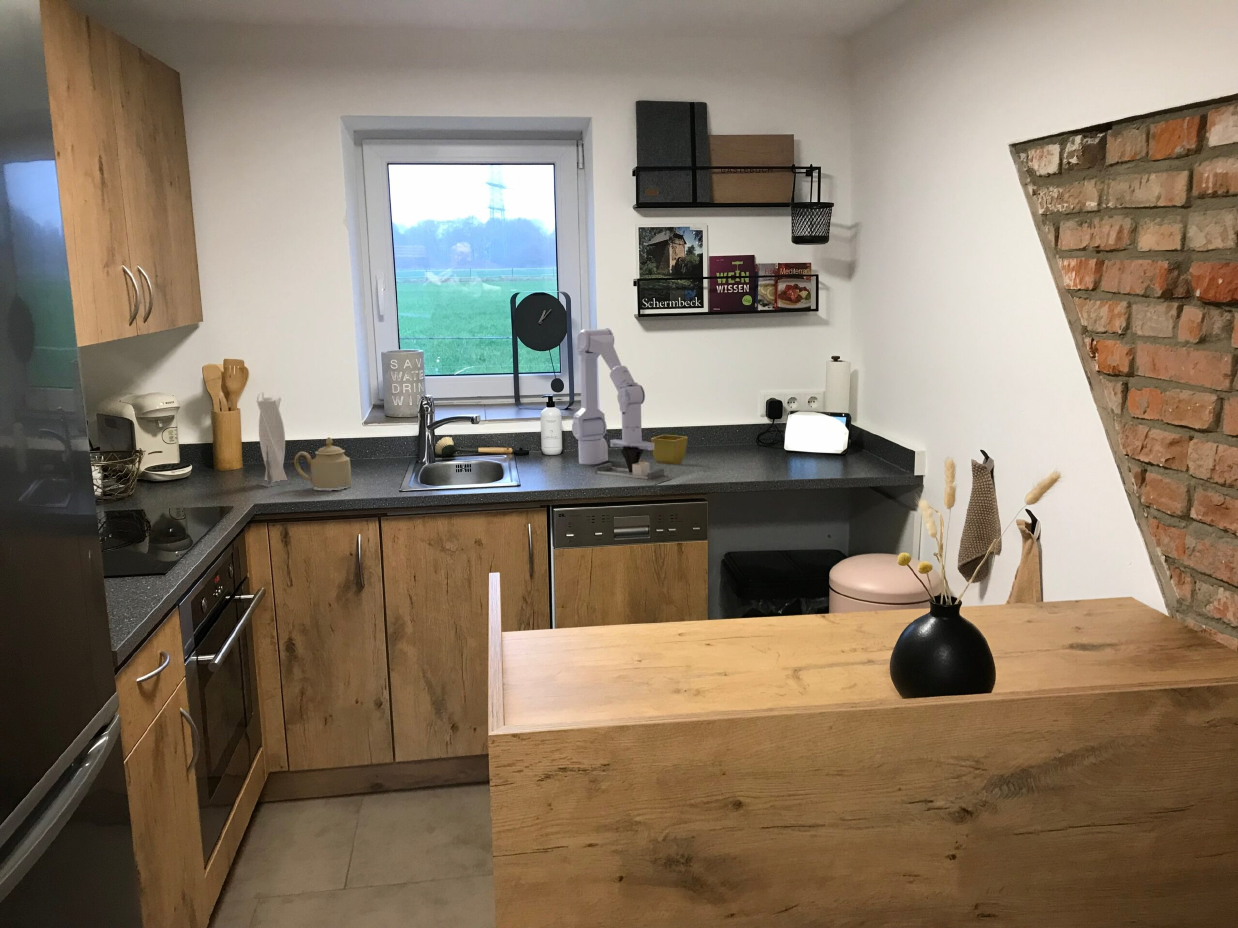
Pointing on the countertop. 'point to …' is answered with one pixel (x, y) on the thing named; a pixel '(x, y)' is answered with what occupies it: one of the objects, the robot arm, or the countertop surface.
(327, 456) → the sugar bowl
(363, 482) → the countertop surface
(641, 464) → the fader knob
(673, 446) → the flower pot
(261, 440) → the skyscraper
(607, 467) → the fader console
